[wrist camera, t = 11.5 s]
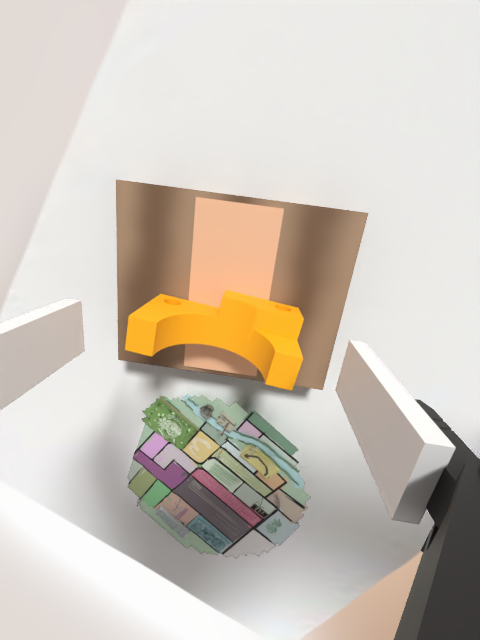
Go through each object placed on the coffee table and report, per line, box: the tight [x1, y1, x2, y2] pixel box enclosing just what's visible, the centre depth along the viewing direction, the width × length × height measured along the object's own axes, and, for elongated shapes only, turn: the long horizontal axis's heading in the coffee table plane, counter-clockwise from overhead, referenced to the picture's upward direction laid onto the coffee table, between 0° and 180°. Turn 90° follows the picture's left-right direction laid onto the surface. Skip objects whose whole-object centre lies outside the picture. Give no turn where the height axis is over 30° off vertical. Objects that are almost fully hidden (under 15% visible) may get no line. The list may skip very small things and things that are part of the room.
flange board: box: [116, 180, 368, 390], centre depth 26 cm, size 20×16×3 cm
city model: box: [127, 394, 310, 559], centre depth 33 cm, size 25×23×6 cm
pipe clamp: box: [125, 290, 304, 391], centre depth 22 cm, size 12×4×6 cm, turn 77°
